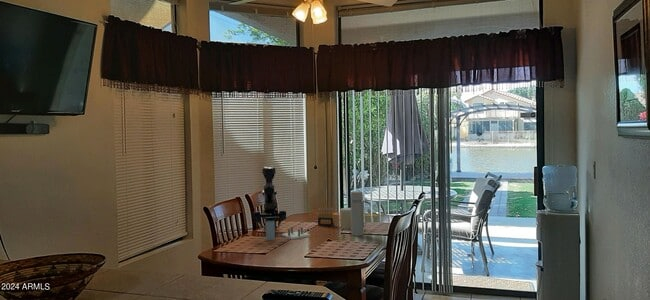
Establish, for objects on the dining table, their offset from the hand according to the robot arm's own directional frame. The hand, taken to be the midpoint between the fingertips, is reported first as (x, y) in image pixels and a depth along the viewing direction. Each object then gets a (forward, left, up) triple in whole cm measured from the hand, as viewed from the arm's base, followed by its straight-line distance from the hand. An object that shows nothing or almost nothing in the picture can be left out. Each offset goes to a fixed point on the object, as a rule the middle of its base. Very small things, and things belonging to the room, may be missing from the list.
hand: (270, 227), depth 271 cm
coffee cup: (+24, +47, -7) cm, 53 cm away
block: (-1, +1, -7) cm, 7 cm away
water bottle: (+40, +31, -7) cm, 51 cm away
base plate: (+8, +13, -7) cm, 17 cm away
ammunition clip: (+7, +49, -7) cm, 50 cm away
